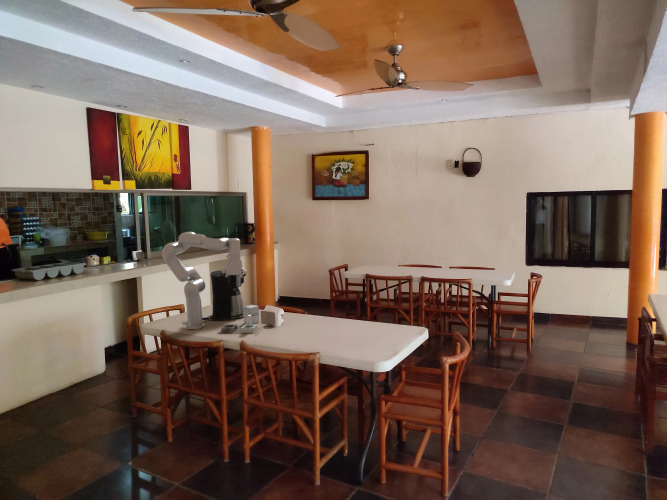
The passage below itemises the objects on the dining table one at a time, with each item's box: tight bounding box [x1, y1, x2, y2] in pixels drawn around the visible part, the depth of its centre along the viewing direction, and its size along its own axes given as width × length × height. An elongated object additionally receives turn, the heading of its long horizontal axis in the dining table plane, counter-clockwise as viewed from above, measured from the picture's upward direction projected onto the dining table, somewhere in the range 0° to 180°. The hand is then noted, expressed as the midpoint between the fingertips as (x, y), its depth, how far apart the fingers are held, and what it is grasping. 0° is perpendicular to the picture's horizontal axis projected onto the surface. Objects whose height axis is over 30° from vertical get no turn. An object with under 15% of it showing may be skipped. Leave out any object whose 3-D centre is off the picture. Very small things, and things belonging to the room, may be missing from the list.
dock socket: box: [240, 323, 258, 333], centre depth 297 cm, size 8×8×3 cm
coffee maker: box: [202, 269, 245, 322], centre depth 336 cm, size 23×32×34 cm
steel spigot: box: [244, 315, 252, 327], centre depth 296 cm, size 4×4×10 cm
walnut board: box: [216, 323, 262, 335], centre depth 298 cm, size 25×14×4 cm, turn 83°
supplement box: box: [243, 304, 260, 324], centre depth 317 cm, size 7×7×13 cm
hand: (235, 283), depth 307 cm, fingers open, 9 cm apart
